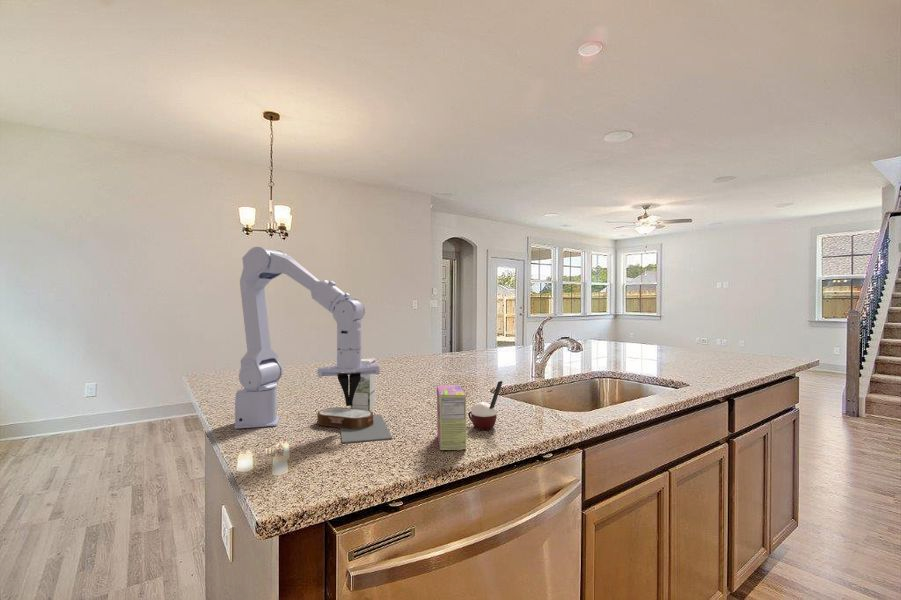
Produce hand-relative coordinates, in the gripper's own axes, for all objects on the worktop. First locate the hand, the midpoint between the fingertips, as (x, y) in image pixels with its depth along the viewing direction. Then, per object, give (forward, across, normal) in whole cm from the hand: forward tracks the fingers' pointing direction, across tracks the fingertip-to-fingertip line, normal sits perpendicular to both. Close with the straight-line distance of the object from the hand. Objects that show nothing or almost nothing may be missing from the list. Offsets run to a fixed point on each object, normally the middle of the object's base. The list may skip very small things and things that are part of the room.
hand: (348, 404), depth 105 cm
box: (+6, +21, -16) cm, 27 cm away
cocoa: (+6, +32, -8) cm, 34 cm away
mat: (+6, +4, 0) cm, 7 cm away
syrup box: (+6, +5, +18) cm, 20 cm away
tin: (+4, -3, +1) cm, 5 cm away
